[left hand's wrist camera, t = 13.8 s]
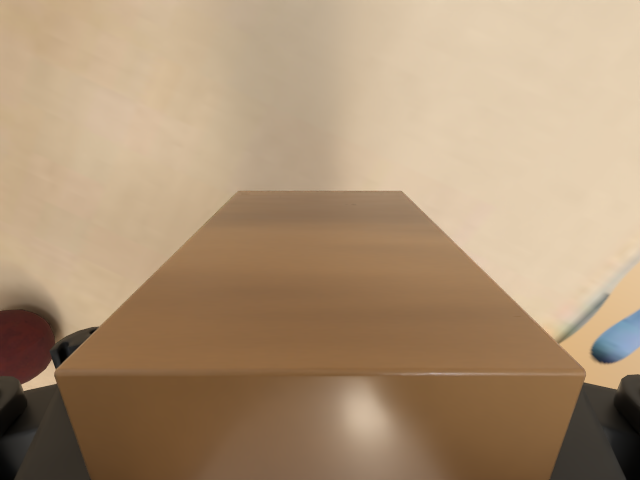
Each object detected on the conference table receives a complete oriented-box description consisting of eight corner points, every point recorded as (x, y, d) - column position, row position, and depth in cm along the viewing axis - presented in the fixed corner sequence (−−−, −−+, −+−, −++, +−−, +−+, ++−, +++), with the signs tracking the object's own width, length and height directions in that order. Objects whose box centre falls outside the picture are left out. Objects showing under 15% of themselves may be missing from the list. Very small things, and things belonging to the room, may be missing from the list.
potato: (-11, 338, 36) (-85, 389, 29) (8, 282, 33) (-69, 325, 27) (59, 367, 37) (3, 423, 30) (81, 316, 35) (26, 365, 28)
